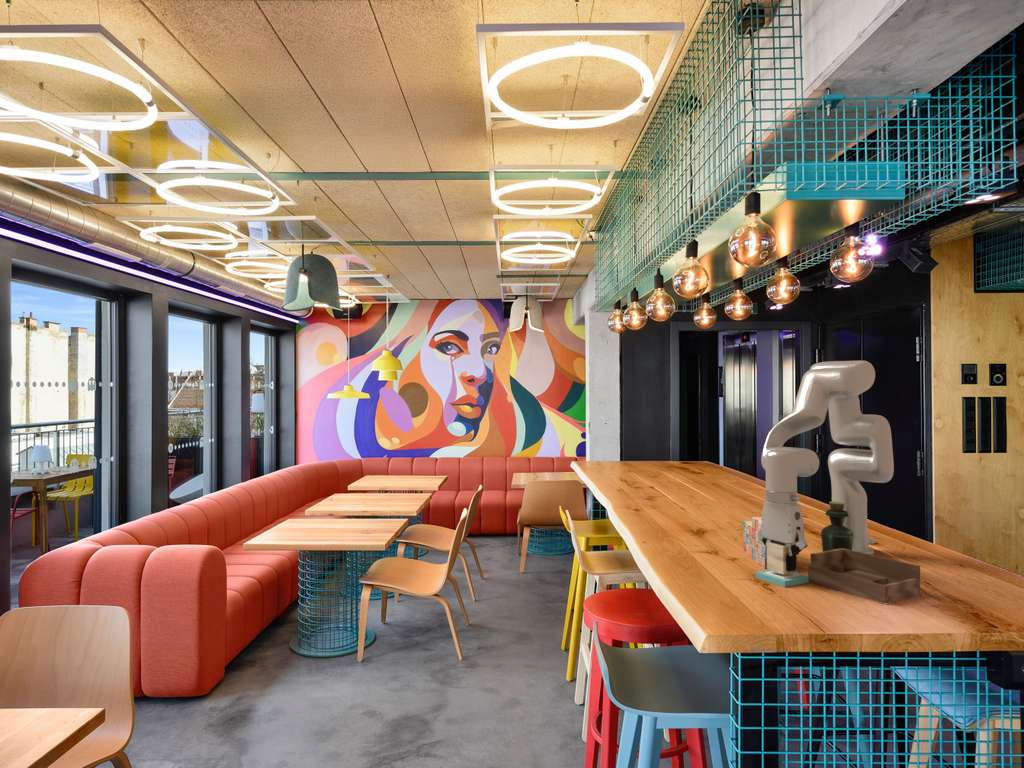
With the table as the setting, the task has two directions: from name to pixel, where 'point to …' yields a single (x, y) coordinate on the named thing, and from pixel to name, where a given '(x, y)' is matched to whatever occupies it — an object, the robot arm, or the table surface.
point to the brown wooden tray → (865, 575)
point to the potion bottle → (836, 529)
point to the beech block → (777, 557)
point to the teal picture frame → (782, 578)
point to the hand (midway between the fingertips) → (781, 567)
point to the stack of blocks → (754, 541)
